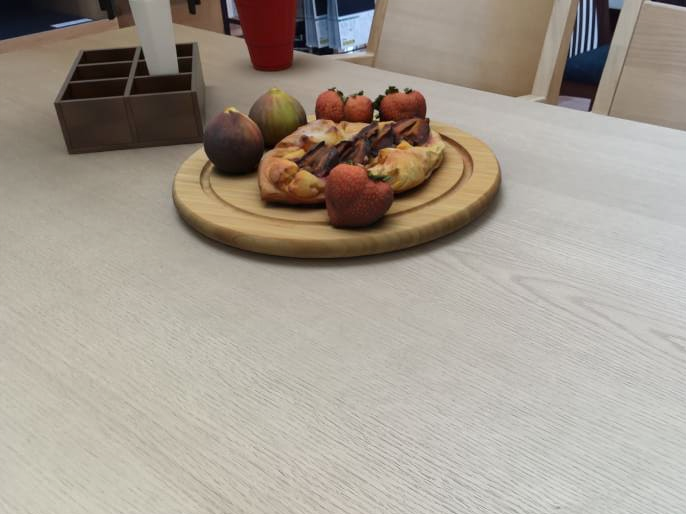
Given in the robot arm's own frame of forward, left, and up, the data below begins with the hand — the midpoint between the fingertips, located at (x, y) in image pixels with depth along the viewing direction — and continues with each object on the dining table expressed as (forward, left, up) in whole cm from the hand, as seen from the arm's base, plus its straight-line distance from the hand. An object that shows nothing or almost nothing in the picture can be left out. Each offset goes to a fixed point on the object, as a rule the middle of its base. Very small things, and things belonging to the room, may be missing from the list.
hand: (153, 14), depth 86 cm
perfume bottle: (0, 0, -11) cm, 11 cm away
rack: (-4, 0, -11) cm, 12 cm away
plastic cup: (+14, +19, -12) cm, 26 cm away
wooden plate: (+17, -27, -12) cm, 34 cm away
